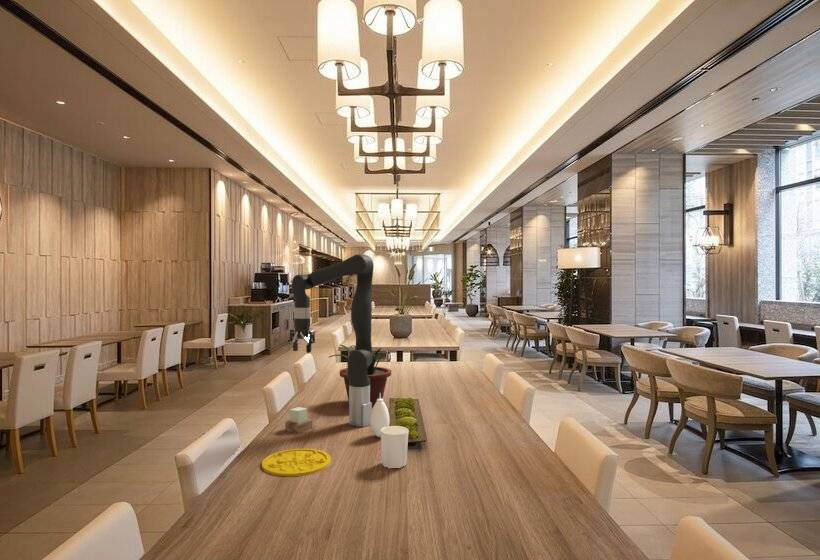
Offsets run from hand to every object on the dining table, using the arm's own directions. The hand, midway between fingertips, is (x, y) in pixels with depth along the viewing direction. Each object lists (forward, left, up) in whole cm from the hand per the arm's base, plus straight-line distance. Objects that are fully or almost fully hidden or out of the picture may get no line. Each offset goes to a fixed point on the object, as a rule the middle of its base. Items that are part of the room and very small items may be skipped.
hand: (301, 351), depth 227 cm
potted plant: (-9, -32, -30) cm, 45 cm away
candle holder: (-70, +24, -30) cm, 80 cm away
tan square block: (-14, +15, -30) cm, 37 cm away
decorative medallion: (-41, +42, -31) cm, 66 cm away
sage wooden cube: (-14, +15, -26) cm, 33 cm away
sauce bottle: (-48, +3, -30) cm, 57 cm away
